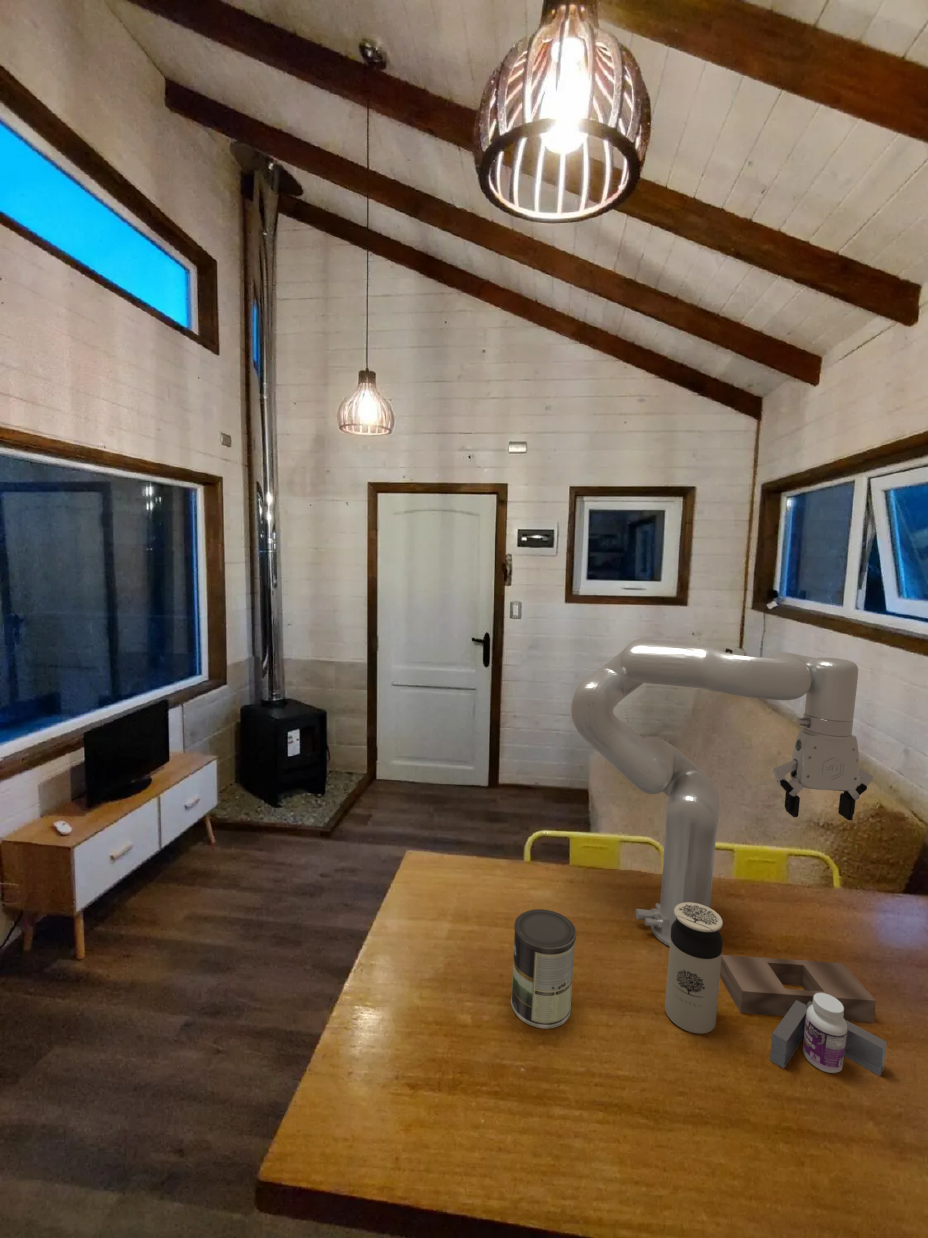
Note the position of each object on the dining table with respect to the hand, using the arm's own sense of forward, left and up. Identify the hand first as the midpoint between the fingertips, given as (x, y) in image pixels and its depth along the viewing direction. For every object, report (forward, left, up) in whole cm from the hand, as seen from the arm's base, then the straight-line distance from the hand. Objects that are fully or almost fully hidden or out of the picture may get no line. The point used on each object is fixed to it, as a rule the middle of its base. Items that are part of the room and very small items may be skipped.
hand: (818, 815), depth 105 cm
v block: (-8, -19, -30) cm, 36 cm away
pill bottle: (-8, -21, -31) cm, 38 cm away
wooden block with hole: (-6, -8, -30) cm, 32 cm away
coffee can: (-51, -14, -31) cm, 61 cm away
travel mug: (-26, -14, -31) cm, 42 cm away
